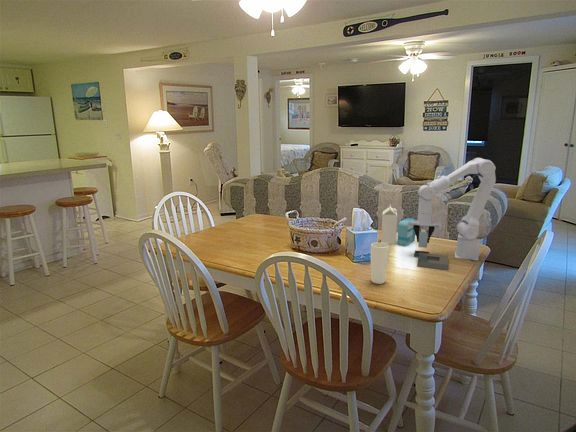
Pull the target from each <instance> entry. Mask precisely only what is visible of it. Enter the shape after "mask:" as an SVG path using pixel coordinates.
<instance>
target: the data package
mask: <svg viewBox="0 0 576 432" xmlns="http://www.w3.org/2000/svg"><path fill="white" fill-rule="evenodd" d="M407 221H417V219H416V218H409V217H407V218H405V219H403V220H401V221H398V223H397V238H396V245H397V246H402V247H407V246H409V245H411V244H412V243H414V242H415V241H416V234H415V231H414V229H413V227H414V226H407Z"/></svg>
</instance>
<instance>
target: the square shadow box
mask: <svg viewBox="0 0 576 432" xmlns="http://www.w3.org/2000/svg"><path fill="white" fill-rule="evenodd" d="M419 252H420V253H429V254H431V252H430V251H424V250H416V249H415V250H414V254H413V257H414V258H418V257H419Z"/></svg>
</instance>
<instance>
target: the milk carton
mask: <svg viewBox="0 0 576 432" xmlns="http://www.w3.org/2000/svg"><path fill="white" fill-rule="evenodd" d="M381 215H382V217H381V237H380V238H381V239H380V242H382V243H386V244H388V245H397V234H398V210H397V209H396V208H395V207H392V206H391V203H390V204H389V207H387V208H385V210H383V211H382V213H381Z"/></svg>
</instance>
